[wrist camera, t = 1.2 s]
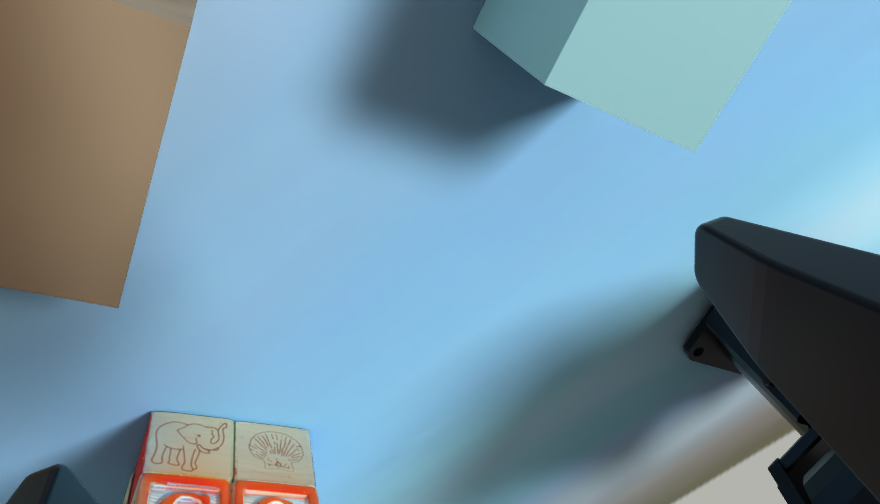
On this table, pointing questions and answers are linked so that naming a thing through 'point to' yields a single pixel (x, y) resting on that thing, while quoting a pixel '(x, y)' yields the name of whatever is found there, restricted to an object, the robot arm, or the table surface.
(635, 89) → the teal block
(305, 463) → the stack of blocks
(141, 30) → the walnut base block
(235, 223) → the table surface
